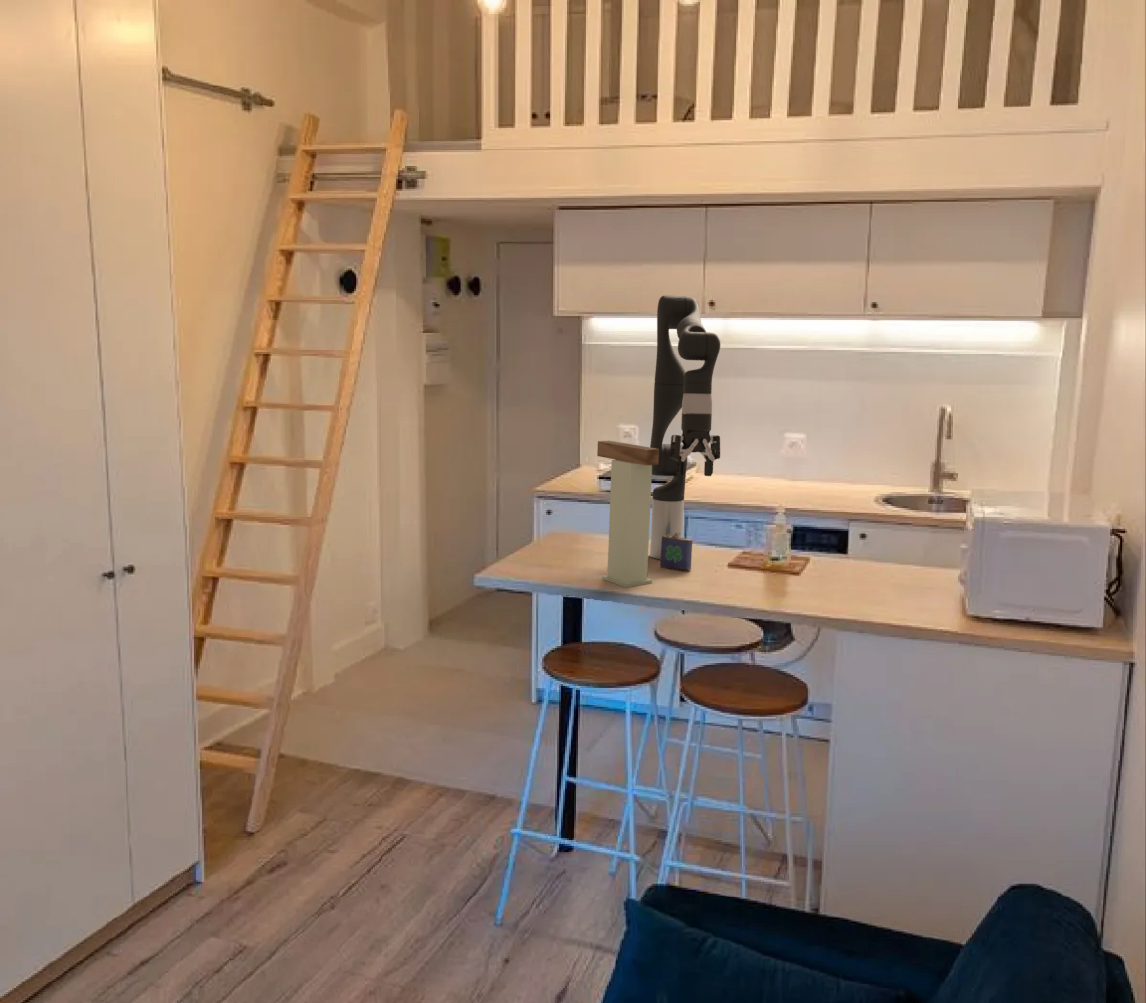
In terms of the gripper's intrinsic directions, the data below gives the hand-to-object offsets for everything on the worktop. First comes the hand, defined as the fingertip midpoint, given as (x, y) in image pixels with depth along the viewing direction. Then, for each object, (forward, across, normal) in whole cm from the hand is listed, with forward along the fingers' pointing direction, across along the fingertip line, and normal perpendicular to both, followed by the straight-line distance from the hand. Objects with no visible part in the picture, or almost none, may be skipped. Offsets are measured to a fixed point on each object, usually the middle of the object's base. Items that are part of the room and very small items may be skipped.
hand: (694, 476), depth 257 cm
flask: (+28, -11, -22) cm, 37 cm away
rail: (-3, +10, -16) cm, 19 cm away
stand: (+29, +9, -16) cm, 34 cm away
